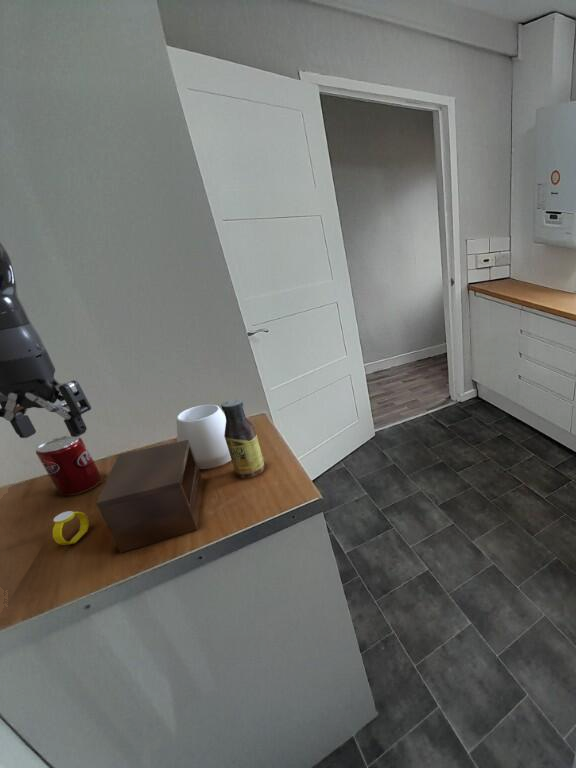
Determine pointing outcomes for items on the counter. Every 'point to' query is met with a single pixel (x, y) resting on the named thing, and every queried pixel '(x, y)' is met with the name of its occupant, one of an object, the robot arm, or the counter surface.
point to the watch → (66, 517)
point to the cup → (204, 435)
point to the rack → (152, 495)
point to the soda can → (69, 465)
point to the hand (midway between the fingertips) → (54, 435)
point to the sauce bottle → (242, 440)
